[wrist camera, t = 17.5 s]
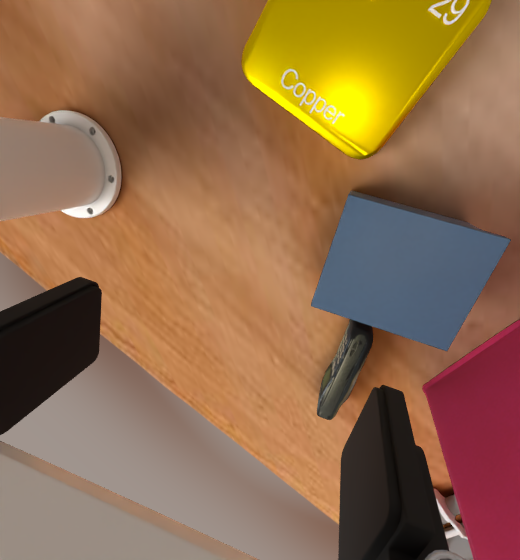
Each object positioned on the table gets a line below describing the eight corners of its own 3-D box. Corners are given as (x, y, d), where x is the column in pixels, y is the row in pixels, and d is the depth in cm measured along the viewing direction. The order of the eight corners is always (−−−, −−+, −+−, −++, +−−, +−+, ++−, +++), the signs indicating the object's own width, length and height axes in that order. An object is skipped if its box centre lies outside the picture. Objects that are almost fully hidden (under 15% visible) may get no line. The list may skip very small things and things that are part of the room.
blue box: (317, 279, 38) (309, 309, 31) (349, 186, 34) (348, 194, 26) (425, 313, 37) (445, 354, 29) (473, 220, 32) (511, 239, 25)
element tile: (245, 79, 33) (229, 67, 29) (340, -101, 27) (339, -151, 22) (363, 168, 33) (365, 169, 29) (486, 9, 27) (513, -20, 23)
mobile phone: (350, 326, 34) (308, 429, 40) (379, 336, 34) (332, 438, 39) (350, 307, 39) (312, 402, 44) (375, 316, 38) (333, 410, 44)
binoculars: (394, 495, 47) (397, 520, 44) (443, 474, 43) (451, 499, 40) (451, 549, 47) (458, 577, 44) (504, 532, 44) (516, 561, 41)
